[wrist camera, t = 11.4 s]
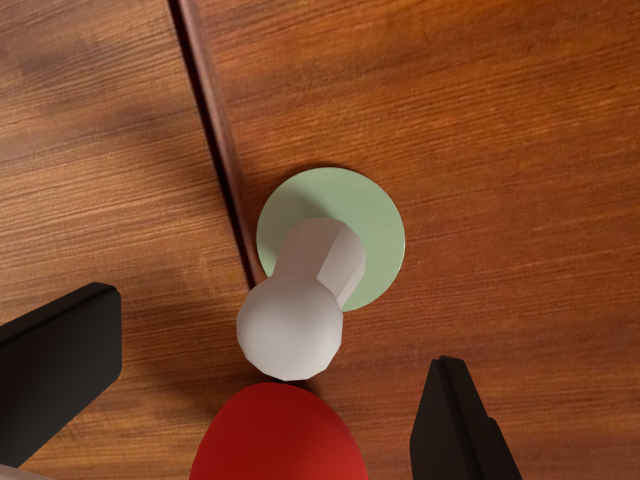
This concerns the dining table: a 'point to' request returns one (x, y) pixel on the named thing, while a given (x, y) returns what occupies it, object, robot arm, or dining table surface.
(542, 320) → the dining table surface
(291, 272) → the salt shaker
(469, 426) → the robot arm
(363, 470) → the tomato
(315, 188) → the coaster
